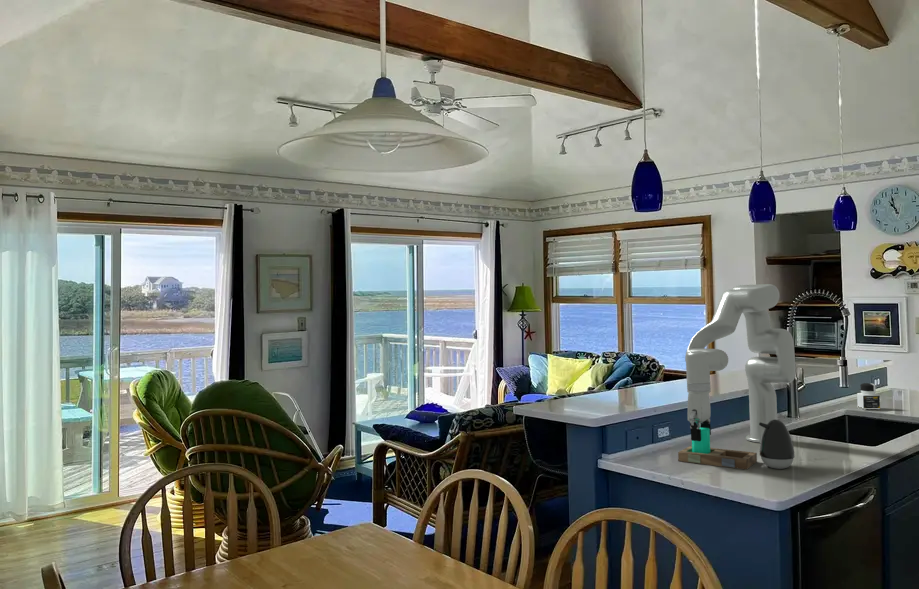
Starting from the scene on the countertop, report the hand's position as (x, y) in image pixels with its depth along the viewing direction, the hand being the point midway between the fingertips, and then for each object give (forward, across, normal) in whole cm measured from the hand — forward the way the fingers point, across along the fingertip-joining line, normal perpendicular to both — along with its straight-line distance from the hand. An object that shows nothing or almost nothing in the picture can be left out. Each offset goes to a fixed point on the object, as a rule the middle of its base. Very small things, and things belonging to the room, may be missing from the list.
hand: (701, 437), depth 233 cm
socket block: (+7, +1, +5) cm, 9 cm away
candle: (+7, 0, 0) cm, 8 cm away
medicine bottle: (+11, -135, +31) cm, 139 cm away
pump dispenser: (+8, -1, +23) cm, 25 cm away
